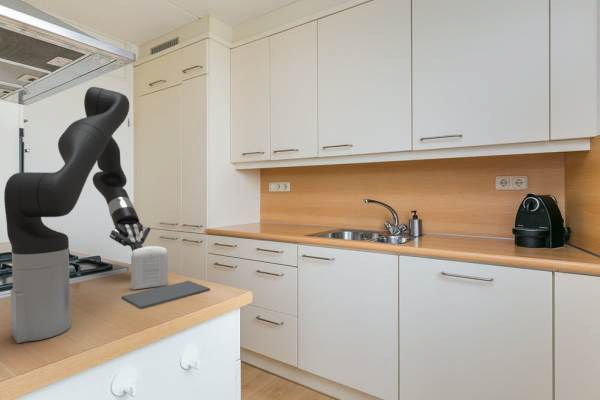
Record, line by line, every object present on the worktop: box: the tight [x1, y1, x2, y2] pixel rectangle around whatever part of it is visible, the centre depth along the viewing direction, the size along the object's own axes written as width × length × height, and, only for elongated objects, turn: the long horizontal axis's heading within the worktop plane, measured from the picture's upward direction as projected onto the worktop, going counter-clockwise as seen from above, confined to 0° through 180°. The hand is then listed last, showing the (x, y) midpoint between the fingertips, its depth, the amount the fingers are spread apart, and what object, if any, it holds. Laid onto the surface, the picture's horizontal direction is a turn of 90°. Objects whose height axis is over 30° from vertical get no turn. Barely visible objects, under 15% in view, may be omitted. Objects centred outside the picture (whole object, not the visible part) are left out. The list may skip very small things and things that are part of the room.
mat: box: [121, 280, 211, 310], centre depth 93 cm, size 20×12×1 cm, turn 139°
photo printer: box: [130, 245, 169, 291], centre depth 100 cm, size 10×4×12 cm, turn 123°
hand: (139, 253), depth 104 cm, fingers closed
